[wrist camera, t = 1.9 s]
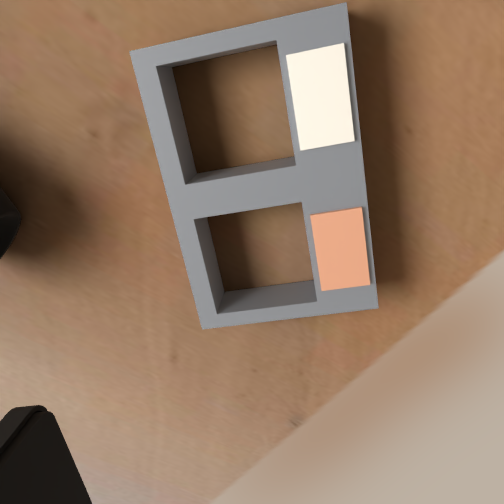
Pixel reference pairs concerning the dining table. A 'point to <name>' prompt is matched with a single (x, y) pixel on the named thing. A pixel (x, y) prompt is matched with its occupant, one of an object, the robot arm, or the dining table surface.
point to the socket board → (272, 169)
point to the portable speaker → (7, 222)
